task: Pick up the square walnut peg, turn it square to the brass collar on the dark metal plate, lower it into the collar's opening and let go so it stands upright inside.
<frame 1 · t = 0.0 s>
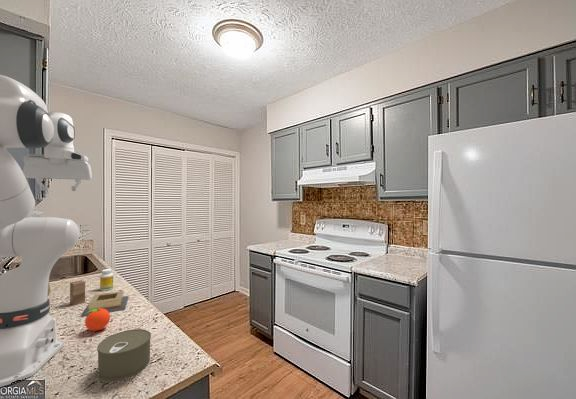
hand: (59, 190, 100), 48 cm above the counter, tool pointing down, fingers open, 8 cm apart
can: (125, 366, 68), on the counter
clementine: (95, 330, 87), on the counter
peg: (77, 303, 110), on the counter
supplement bottle: (106, 289, 128), on the counter
squeeze bottle: (37, 302, 112), on the counter
collar: (107, 306, 107), on the counter
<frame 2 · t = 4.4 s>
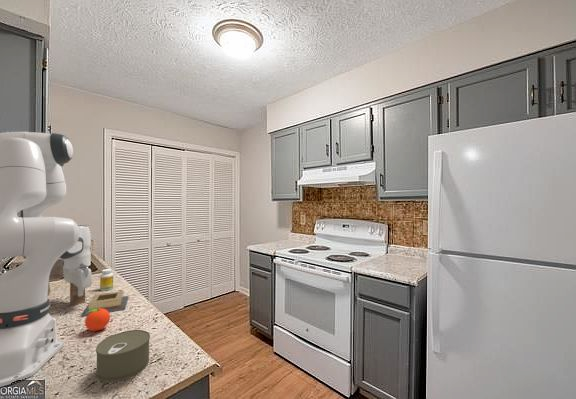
hand: (77, 294, 110), 4 cm above the counter, tool pointing down, fingers closed on peg, 4 cm apart
peg: (77, 303, 110), on the counter, touching gripper
everything else where it was.
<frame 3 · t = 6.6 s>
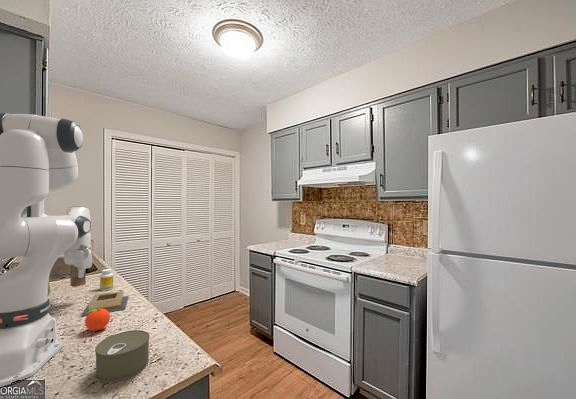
hand: (77, 276, 110), 11 cm above the counter, tool pointing down, fingers closed on peg, 4 cm apart
peg: (77, 285, 110), point 8 cm above the counter, touching gripper
everything else where it was.
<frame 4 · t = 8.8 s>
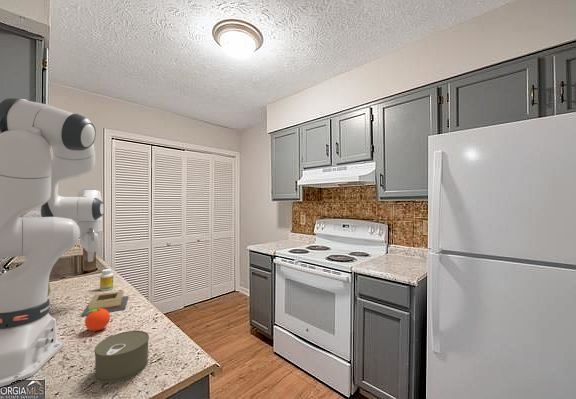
hand: (89, 260, 108), 19 cm above the counter, tool pointing down, fingers closed on peg, 4 cm apart
peg: (89, 269, 108), point 15 cm above the counter, touching gripper
everything else where it was.
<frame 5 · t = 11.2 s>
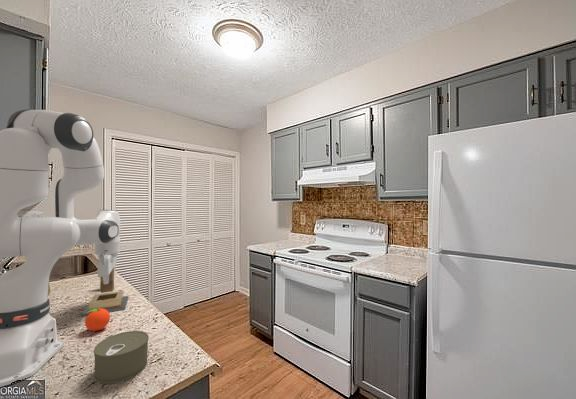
hand: (107, 281, 107), 10 cm above the counter, tool pointing down, fingers closed on peg, 4 cm apart
peg: (107, 290, 107), point 7 cm above the counter, touching gripper
when the fingers open (6 cm above the counter, at t = 13.2 s): peg stays where it is, resting on collar.
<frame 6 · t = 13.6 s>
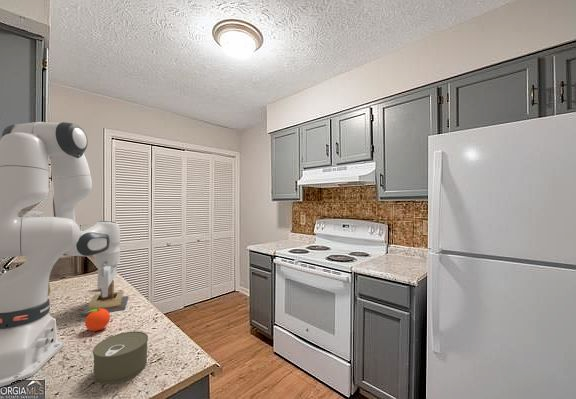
hand: (107, 292, 107), 6 cm above the counter, tool pointing down, fingers open, 8 cm apart
peg: (107, 304, 107), point 1 cm above the counter, touching collar
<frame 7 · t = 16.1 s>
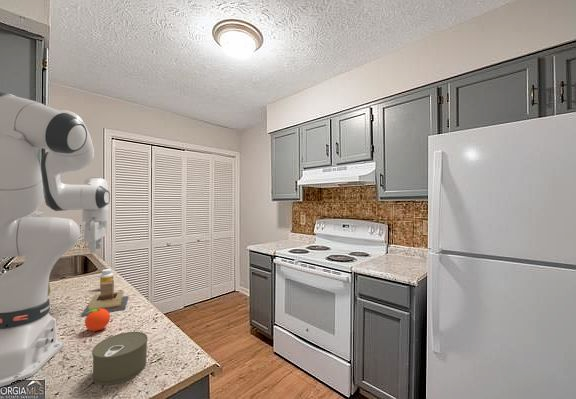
hand: (95, 250, 106), 23 cm above the counter, tool pointing down, fingers open, 8 cm apart
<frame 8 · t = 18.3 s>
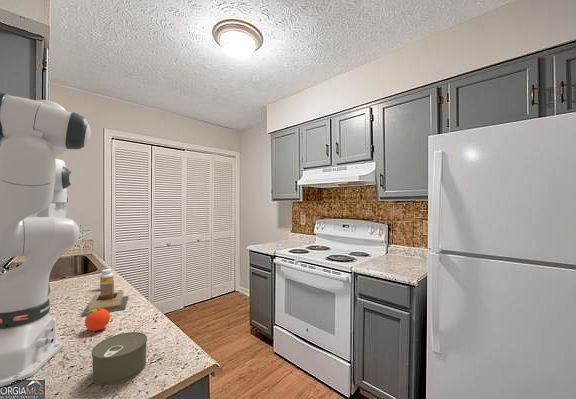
hand: (52, 232, 105), 31 cm above the counter, tool pointing down, fingers open, 8 cm apart
at the end: peg 0.1 cm off-centre on the collar, point 1.0 cm above the collar's base; peg tilted 0°; the gripper is holding nothing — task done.
